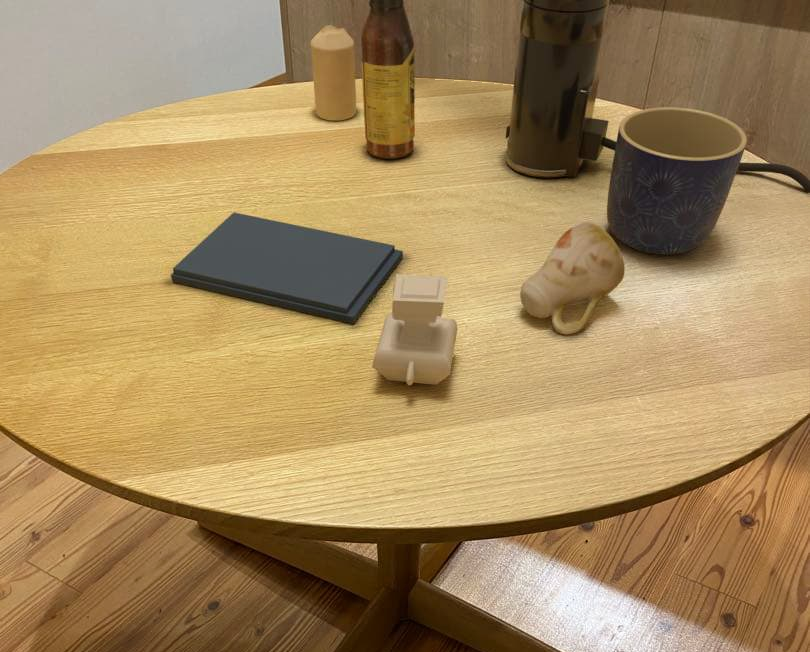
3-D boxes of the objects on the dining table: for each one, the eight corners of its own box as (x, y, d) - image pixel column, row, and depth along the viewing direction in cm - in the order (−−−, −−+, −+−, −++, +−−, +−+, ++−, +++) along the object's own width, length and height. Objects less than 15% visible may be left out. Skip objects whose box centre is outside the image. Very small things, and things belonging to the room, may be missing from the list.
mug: (494, 310, 77) (528, 203, 74) (563, 326, 83) (598, 227, 79) (544, 330, 72) (583, 216, 68) (614, 346, 78) (653, 242, 74)
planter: (727, 226, 88) (761, 122, 80) (693, 277, 81) (727, 170, 73) (621, 198, 92) (643, 97, 84) (580, 245, 85) (600, 140, 77)
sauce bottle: (422, 156, 99) (426, -35, 84) (375, 164, 97) (370, -29, 82) (402, 136, 103) (403, -50, 88) (357, 143, 101) (350, -45, 86)
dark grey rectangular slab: (403, 257, 83) (403, 245, 82) (353, 324, 75) (353, 311, 74) (235, 222, 88) (233, 210, 87) (172, 282, 80) (169, 269, 79)
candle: (311, 107, 109) (305, 23, 101) (350, 102, 110) (347, 20, 102) (321, 123, 105) (315, 38, 98) (361, 118, 106) (358, 34, 99)
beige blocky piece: (386, 338, 74) (385, 254, 68) (457, 344, 73) (462, 260, 67) (370, 399, 68) (367, 314, 62) (447, 406, 68) (452, 321, 61)
